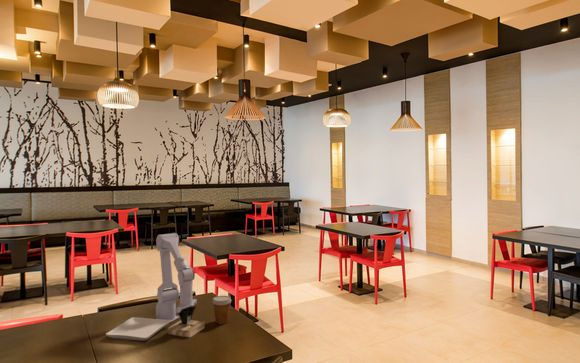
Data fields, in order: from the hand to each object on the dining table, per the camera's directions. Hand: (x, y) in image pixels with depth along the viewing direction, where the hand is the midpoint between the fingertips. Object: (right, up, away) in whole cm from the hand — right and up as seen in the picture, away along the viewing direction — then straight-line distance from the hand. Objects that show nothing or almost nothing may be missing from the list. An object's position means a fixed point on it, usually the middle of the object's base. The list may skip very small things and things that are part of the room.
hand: (186, 322), depth 186 cm
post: (0, -4, 0) cm, 4 cm away
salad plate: (-22, -5, -2) cm, 22 cm away
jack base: (0, -4, 0) cm, 4 cm away
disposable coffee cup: (+15, -4, +12) cm, 19 cm away
